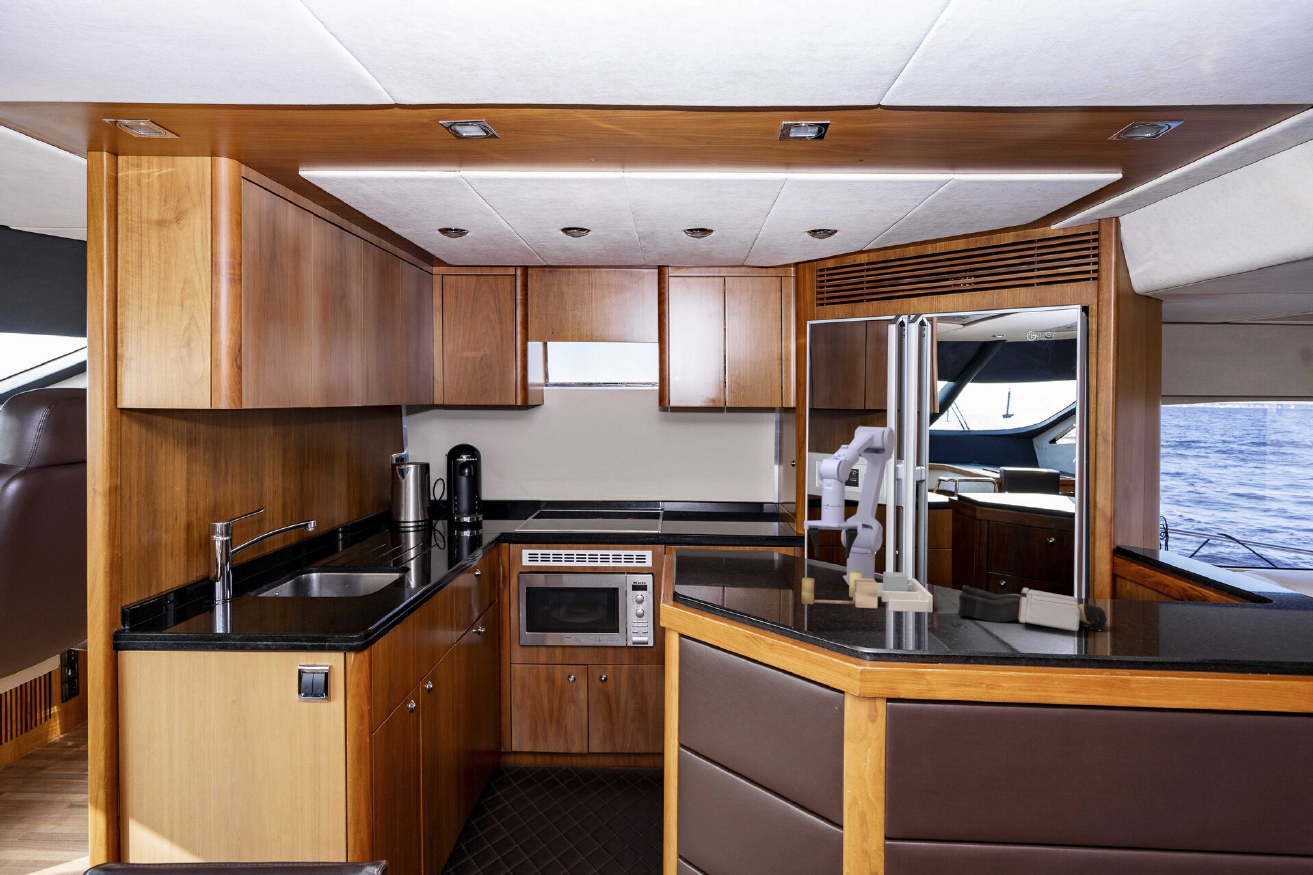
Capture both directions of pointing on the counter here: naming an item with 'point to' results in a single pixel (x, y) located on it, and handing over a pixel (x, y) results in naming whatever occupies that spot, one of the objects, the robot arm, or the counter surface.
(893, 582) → the grey handled block
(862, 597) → the beige long piece
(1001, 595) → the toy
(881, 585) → the rack
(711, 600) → the counter surface
